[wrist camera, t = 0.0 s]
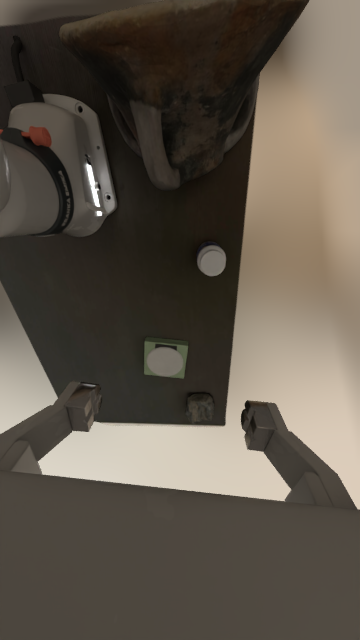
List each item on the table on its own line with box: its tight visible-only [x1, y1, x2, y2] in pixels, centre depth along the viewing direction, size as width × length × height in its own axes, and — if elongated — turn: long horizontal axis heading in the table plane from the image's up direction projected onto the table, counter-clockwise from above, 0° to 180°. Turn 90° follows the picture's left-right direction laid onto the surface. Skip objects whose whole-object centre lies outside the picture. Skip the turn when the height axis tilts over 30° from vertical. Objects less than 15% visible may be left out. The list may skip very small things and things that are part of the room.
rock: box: [186, 393, 214, 424], centre depth 66 cm, size 12×10×5 cm
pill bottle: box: [197, 241, 226, 276], centre depth 41 cm, size 6×6×10 cm
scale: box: [144, 337, 188, 378], centre depth 58 cm, size 12×12×3 cm
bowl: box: [59, 0, 309, 191], centre depth 28 cm, size 27×26×15 cm
